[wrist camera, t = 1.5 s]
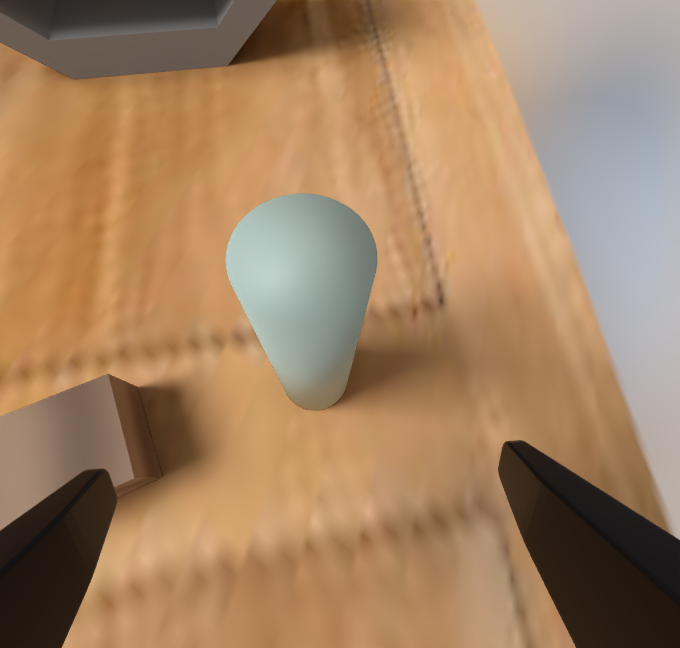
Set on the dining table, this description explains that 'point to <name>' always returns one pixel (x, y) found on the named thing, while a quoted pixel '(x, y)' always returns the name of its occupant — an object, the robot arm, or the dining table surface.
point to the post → (304, 290)
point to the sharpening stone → (129, 33)
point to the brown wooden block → (74, 443)
